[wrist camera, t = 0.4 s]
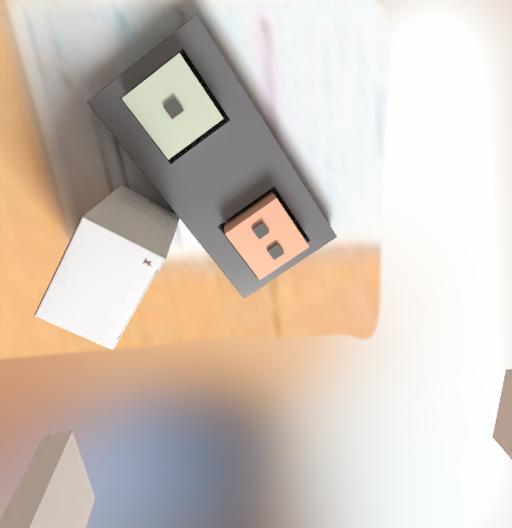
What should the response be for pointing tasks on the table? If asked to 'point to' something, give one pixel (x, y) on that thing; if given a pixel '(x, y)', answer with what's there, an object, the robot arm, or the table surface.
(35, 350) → the table surface
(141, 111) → the pale green button
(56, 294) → the small box
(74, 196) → the table surface
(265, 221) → the peach rectangular block
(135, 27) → the table surface
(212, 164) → the board
